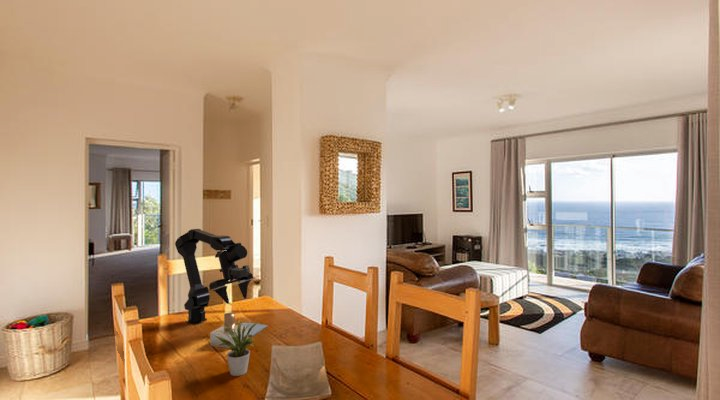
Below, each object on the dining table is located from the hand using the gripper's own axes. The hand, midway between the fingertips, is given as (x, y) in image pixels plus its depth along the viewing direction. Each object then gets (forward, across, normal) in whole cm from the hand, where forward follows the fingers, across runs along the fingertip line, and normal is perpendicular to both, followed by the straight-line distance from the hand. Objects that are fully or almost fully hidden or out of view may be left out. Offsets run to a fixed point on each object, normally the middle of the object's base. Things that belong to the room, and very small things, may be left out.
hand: (236, 301), depth 157 cm
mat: (+13, +5, +4) cm, 14 cm away
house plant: (+22, -22, -21) cm, 38 cm away
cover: (+14, -8, 0) cm, 17 cm away
